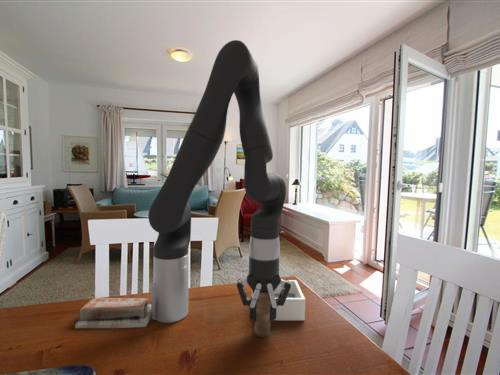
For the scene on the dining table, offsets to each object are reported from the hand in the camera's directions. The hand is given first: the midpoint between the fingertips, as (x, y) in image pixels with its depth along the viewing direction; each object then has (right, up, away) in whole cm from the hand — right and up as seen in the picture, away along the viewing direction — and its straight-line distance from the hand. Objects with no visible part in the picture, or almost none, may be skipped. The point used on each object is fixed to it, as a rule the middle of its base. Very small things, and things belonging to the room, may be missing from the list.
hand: (262, 319), depth 66 cm
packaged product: (-39, -3, +6) cm, 40 cm away
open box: (+6, -2, +11) cm, 13 cm away
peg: (0, -3, 0) cm, 3 cm away
